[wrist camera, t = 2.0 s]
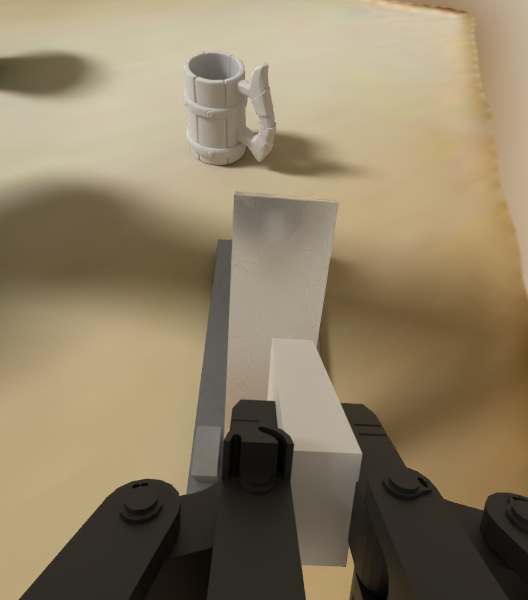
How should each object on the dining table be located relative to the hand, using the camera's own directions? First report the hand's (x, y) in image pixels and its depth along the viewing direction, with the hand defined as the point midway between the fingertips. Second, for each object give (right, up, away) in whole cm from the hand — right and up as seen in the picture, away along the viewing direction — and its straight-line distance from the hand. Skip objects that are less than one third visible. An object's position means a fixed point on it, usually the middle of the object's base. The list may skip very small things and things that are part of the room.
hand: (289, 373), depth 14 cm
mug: (-5, +21, +33) cm, 40 cm away
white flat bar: (0, 0, +9) cm, 9 cm away
